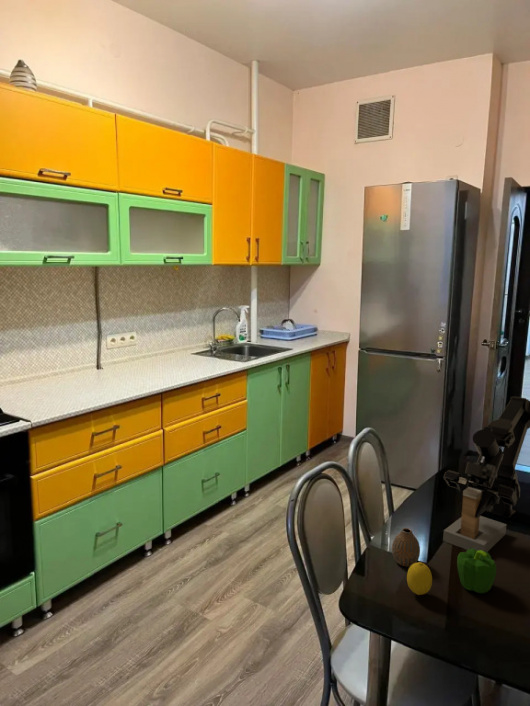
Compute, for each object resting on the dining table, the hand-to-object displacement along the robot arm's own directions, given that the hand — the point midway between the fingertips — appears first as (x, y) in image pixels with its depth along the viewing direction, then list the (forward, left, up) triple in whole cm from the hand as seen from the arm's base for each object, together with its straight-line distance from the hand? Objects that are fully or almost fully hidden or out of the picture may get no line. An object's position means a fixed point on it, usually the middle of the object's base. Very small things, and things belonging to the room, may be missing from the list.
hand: (468, 514), depth 140 cm
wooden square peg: (-1, 0, -7) cm, 7 cm away
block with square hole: (-5, 0, -9) cm, 10 cm away
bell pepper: (+18, +9, -9) cm, 22 cm away
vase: (+20, -8, -9) cm, 23 cm away
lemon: (+30, +1, -9) cm, 31 cm away
